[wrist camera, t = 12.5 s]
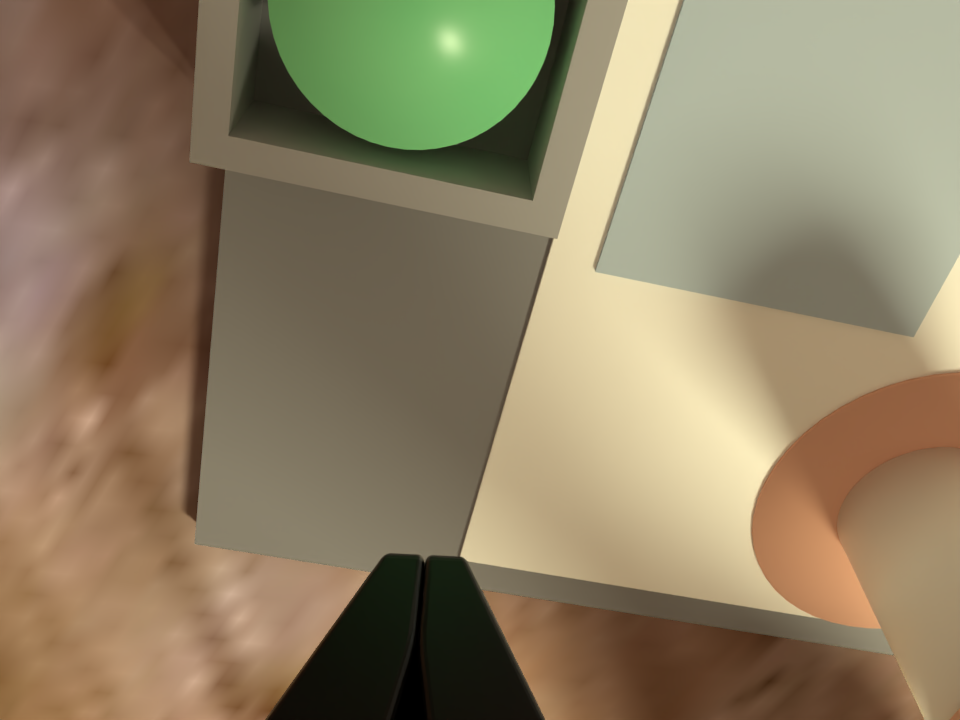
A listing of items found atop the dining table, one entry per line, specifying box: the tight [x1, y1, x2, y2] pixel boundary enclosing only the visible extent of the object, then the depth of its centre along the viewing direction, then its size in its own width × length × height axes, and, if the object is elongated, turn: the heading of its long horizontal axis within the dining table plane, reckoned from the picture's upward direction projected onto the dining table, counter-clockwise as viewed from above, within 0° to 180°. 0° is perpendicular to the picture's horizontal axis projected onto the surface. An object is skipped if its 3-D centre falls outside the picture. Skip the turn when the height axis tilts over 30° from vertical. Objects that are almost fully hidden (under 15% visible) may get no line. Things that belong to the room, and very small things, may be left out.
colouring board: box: [189, 0, 960, 655], centre depth 19 cm, size 22×18×3 cm
